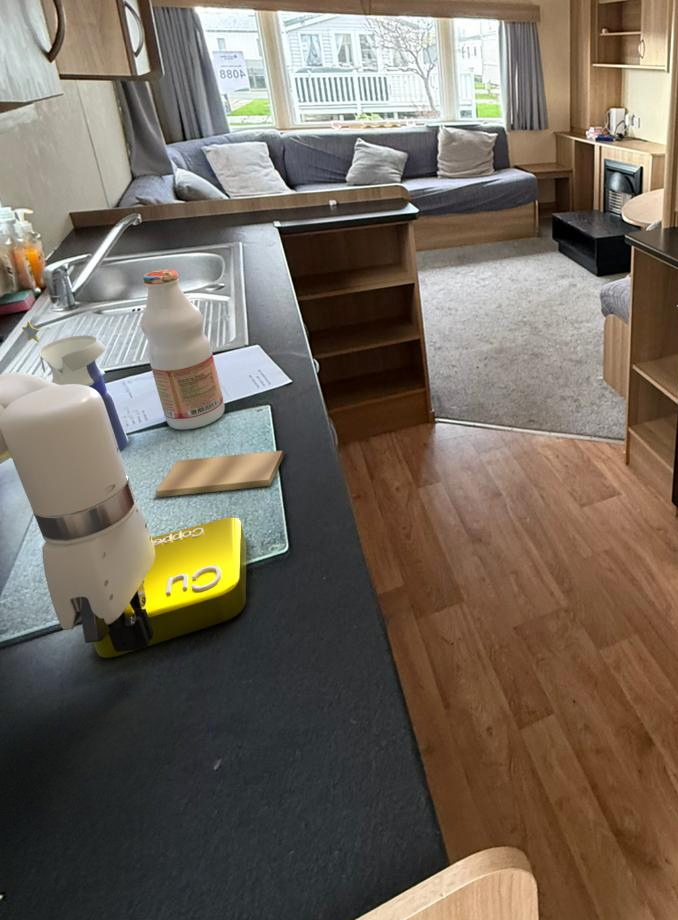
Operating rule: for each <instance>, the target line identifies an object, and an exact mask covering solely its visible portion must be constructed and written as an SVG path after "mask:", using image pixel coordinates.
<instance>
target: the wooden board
mask: <svg viewBox="0 0 678 920" xmlns="http://www.w3.org/2000/svg"><path fill="white" fill-rule="evenodd" d="M283 459H284V453H283V450H275V451H274V450H273V451H262V452H254V453H253V452H251V453H243V454H232V455H224V456H223V455H222V456H212V457H200V458H189V459H181V460H180V459H179V460H177V461H176V462H175V463H174V465H173V466H172V467H171V469H170V471H169V472H168V473H167V475H166V476H165V477H164V478H163V480H162V482H161V483H160V484H159V486H158V487H157V489H156V490H155V494H156V496H157V498H165V497H167V498H168V497H175V496H184V495H186V496H187V495H195V494H204V493H214V492H222V491H224V492H225V491H232V490H233V491H234V490H241V489H252V488H260V487H271V485H272V482H273V480H274V478H275V476H276V474H277V472H278V469H279V468H280V465H281V463H282V461H283Z"/></svg>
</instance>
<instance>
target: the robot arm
mask: <svg viewBox="0 0 678 920" xmlns="http://www.w3.org/2000/svg"><path fill="white" fill-rule="evenodd" d="M9 459H12V461H13V465H14V467H15V470H16V472H17V475H18V477H19V480H20V482H21V485H22V488H23V490H24V493H25V495H26V498H27V501H28V503H29V505H30V508H31V511H32V514H33V515H34V518H35V521H36V523H37V526H38V528H39V530H40V531H39V532H40V533H41V536H42V538H43V541H45V542H44V544H43V545H42V562H43V570H44V575H45V581H46V585H47V588H48V592H49V596H50V599H51V602H52V606H53V609H54V612H55V615H56V618H57V621H58V623H59V625H60V627H61V628H62V630H64V631H69V630H74V628H75V626H76V625H77V624H78V622H79V621H80V620H81V626H82V627H81V628H82V633H83V638H84V642H85V644H91V643H93V642H99V641H102V640H103V639H104V638H105V636H106V635H107V634H108V633H109V636H110V639H111V641H112V644H113V647H114V650H115V651H116V652H123V651H130V650H135V651H138V650H145V649H147V648H148V647H149V646H148V645H149V643H150V641H149V640H151V639H152V637H153V635H154V632H153V629H152V626H151V623H150V620H149V617H148V614H147V611H146V609H142V608H144V606H145V604H146V595H145V590H144V586H143V583H144V578H145V577H146V575H147V573H148V572H149V570H150V568H151V567H152V565H153V562H154V559H155V549H154V545H153V541H152V534H151V532H150V529H149V526H148V524H147V521H146V519H145V517H144V513H143V512H142V510H141V508H140V506H139V505H138V503H137V501H136V498H135V495H134V492H133V489H132V486H131V483H130V480H129V476H128V473H127V469H126V467H125V464H124V460H123V457H122V454H121V450H120V451H119V448H118V445H117V441H116V438H115V435H114V432H113V429H112V426H111V423H110V420H109V416H108V413H107V410H106V407H105V404H104V401H103V399H102V397H101V395H100V394H99V393H98V392H97V391H96V390H95V389H93V388H91V387H89V386H85V385H79V384H67V385H58V384H55V383H53V382H50V381H48V380H45V378H43V377H40V376H37V375H35V374H31V373H27V372H22V371H20V372H19V371H12V372H5V373H1V374H0V465H1V464H3V463H4V462H7V461H8V460H9Z"/></svg>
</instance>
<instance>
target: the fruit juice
mask: <svg viewBox="0 0 678 920" xmlns="http://www.w3.org/2000/svg"><path fill="white" fill-rule="evenodd" d="M179 281H180V277H179V273H178V272H177V270H175V269H157V270H153V271H150V272H147V273H145V274H144V275H143V283H144V285H145V286H146V287H147V297H146V304H145V309H144V312H143V314H142V316H141V319H140V328H141V329H140V330H141V332H142V334H143V336H144V337H145V339H146V341H148V347H147V356H148V361H149V365H150V368H151V372H152V375H153V379H154V383H155V386H156V390H157V394H158V398H159V401H160V405H161V408H162V412H163V415H164V418H165V421H166V423H167V425H168V426H169V427H170V428H172V429H176V430H192V429H197V428H202V427H204V426H207V425H210V424H212V423H213V422H215V421H217V420H218V419H220V418H221V417H222V416H223V415H224V413H225V410H226V409H225V408H226V407H225V401H224V397H223V393H222V389H221V388H222V387H221V384H220V380H219V375H218V371H217V367H216V363H215V359H214V355H213V350H212V346H211V343H210V340H209V339H208V337H207V335H206V334H205V333H204V316H203V314H202V312H201V310H200V308H199V307H198V306H197V305H195V304H194V303H192V302H191V301H190V299H189V298H188V297H187V296H186V294H185V293H184V291H183V290H182V288H181V287H180V284H179Z"/></svg>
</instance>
